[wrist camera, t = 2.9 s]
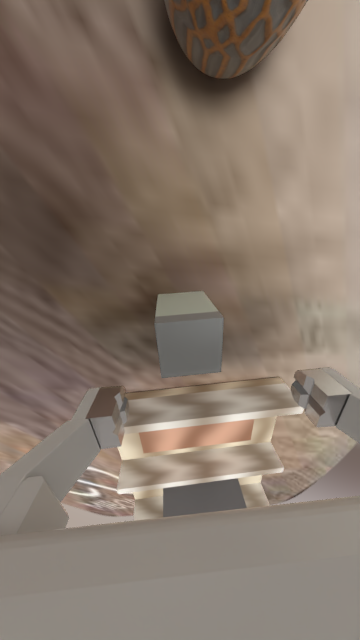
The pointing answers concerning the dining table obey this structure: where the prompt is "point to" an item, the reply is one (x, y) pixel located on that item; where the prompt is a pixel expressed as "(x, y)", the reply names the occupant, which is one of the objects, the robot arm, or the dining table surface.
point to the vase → (230, 31)
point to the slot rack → (201, 439)
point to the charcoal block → (203, 498)
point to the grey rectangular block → (188, 334)
